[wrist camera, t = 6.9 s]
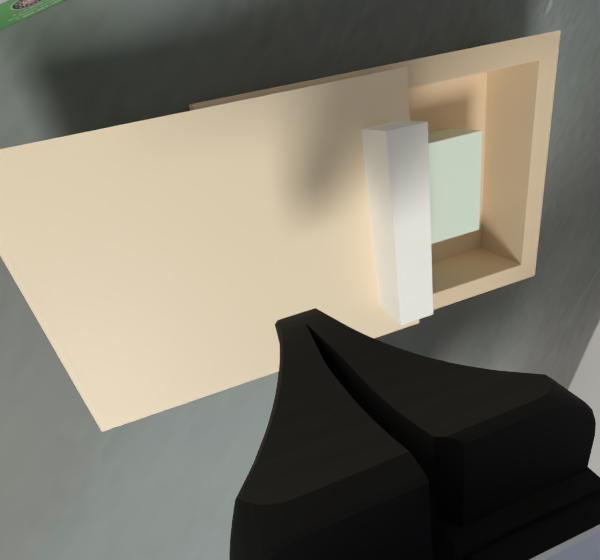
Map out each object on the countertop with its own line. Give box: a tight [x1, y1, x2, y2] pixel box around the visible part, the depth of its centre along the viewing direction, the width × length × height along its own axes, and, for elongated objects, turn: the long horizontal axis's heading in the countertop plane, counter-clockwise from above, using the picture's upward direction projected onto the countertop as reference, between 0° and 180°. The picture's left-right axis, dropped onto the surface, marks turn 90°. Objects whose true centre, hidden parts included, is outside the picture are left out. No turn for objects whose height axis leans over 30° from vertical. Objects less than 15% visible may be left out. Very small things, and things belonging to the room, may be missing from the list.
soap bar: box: [428, 128, 482, 244], centre depth 20 cm, size 5×4×2 cm
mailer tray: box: [189, 30, 561, 310], centre depth 20 cm, size 12×16×4 cm
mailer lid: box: [0, 67, 433, 432], centre depth 15 cm, size 12×16×3 cm
